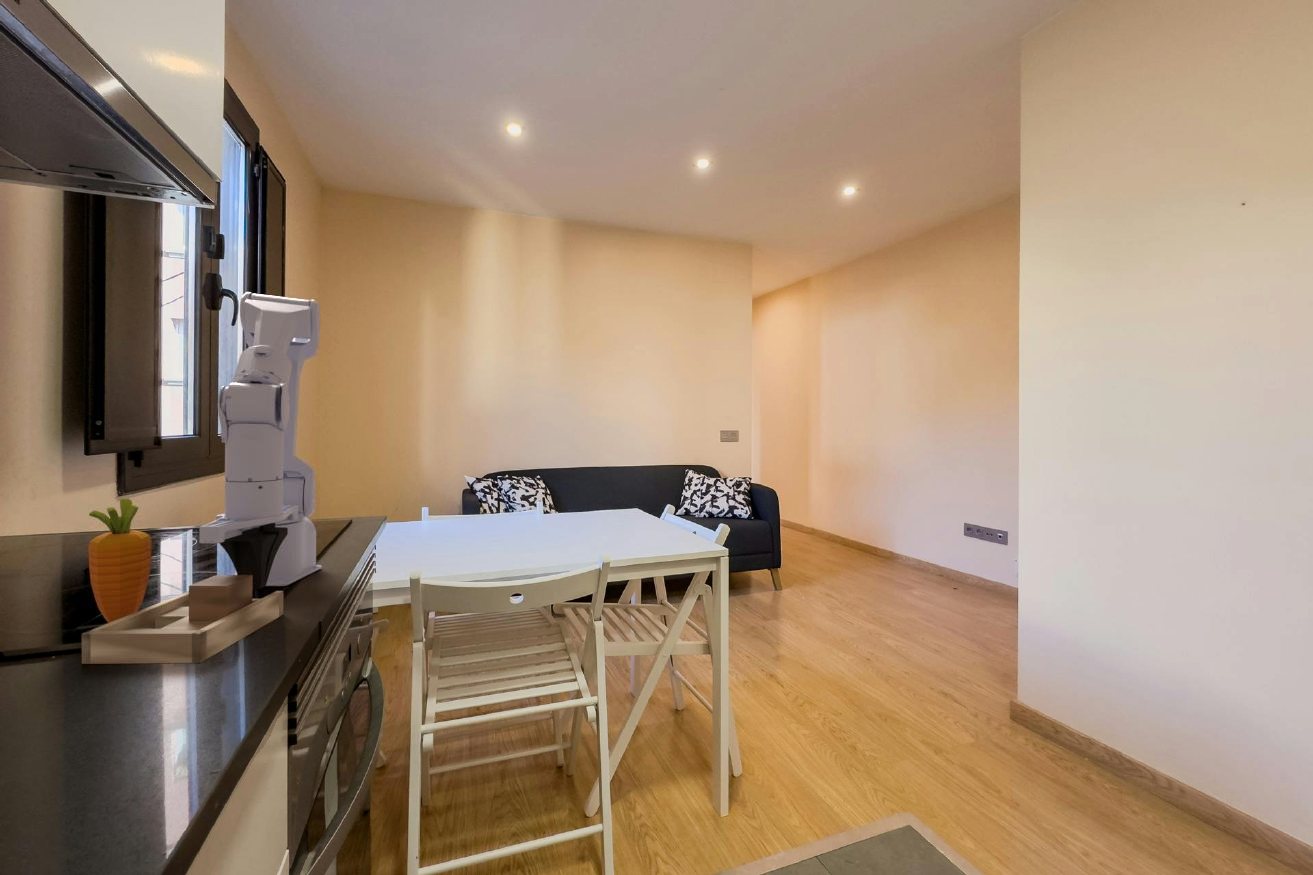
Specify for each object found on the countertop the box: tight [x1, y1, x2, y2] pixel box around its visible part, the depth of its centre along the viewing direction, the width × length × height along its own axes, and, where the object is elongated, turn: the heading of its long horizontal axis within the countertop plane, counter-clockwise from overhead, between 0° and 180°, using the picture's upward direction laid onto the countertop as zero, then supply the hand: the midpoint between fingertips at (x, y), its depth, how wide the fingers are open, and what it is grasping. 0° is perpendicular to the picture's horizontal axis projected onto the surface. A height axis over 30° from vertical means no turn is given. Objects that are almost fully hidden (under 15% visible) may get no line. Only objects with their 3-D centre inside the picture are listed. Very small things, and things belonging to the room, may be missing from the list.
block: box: [188, 574, 253, 621], centre depth 59 cm, size 4×4×4 cm
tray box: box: [81, 590, 284, 665], centre depth 58 cm, size 13×11×3 cm
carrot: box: [87, 498, 153, 624], centre depth 58 cm, size 5×5×15 cm
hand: (253, 587), depth 64 cm, fingers closed
